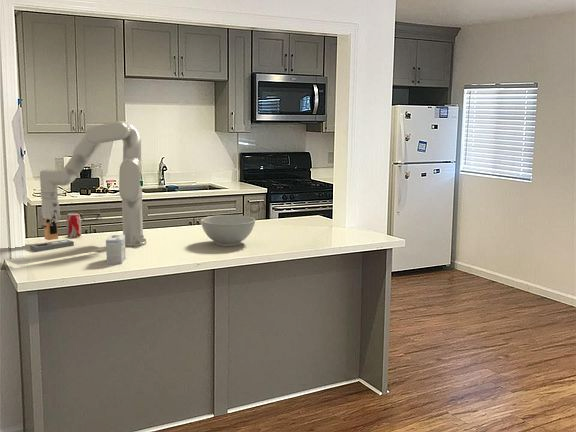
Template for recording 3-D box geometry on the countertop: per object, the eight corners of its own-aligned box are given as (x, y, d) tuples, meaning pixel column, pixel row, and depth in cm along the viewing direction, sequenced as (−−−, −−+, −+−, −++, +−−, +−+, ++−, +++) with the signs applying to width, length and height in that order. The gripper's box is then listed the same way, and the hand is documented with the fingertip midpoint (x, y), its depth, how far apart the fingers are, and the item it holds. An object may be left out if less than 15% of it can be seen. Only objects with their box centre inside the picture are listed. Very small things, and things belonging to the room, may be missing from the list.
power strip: (74, 248, 309) (73, 241, 308) (37, 255, 296) (37, 247, 296) (66, 246, 314) (66, 239, 313) (30, 252, 301) (30, 244, 300)
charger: (58, 238, 315) (57, 222, 314) (44, 240, 310) (43, 224, 309) (54, 237, 318) (53, 221, 316) (40, 239, 313) (39, 223, 311)
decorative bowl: (219, 236, 339) (219, 213, 337) (264, 241, 328) (264, 217, 325) (190, 246, 315) (189, 221, 313) (237, 251, 304) (237, 226, 302)
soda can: (77, 238, 332) (75, 215, 330) (64, 237, 334) (63, 214, 332) (84, 235, 339) (82, 213, 337) (71, 235, 340) (70, 212, 338)
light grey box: (110, 258, 291) (109, 234, 289) (126, 258, 291) (125, 234, 289) (106, 264, 280) (105, 239, 278) (122, 264, 281) (121, 239, 279)
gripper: (65, 196, 308) (67, 234, 311) (48, 193, 319) (50, 229, 323) (50, 198, 303) (52, 236, 306) (33, 194, 314) (35, 231, 317)
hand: (51, 232), depth 314 cm, fingers closed on charger, 4 cm apart
